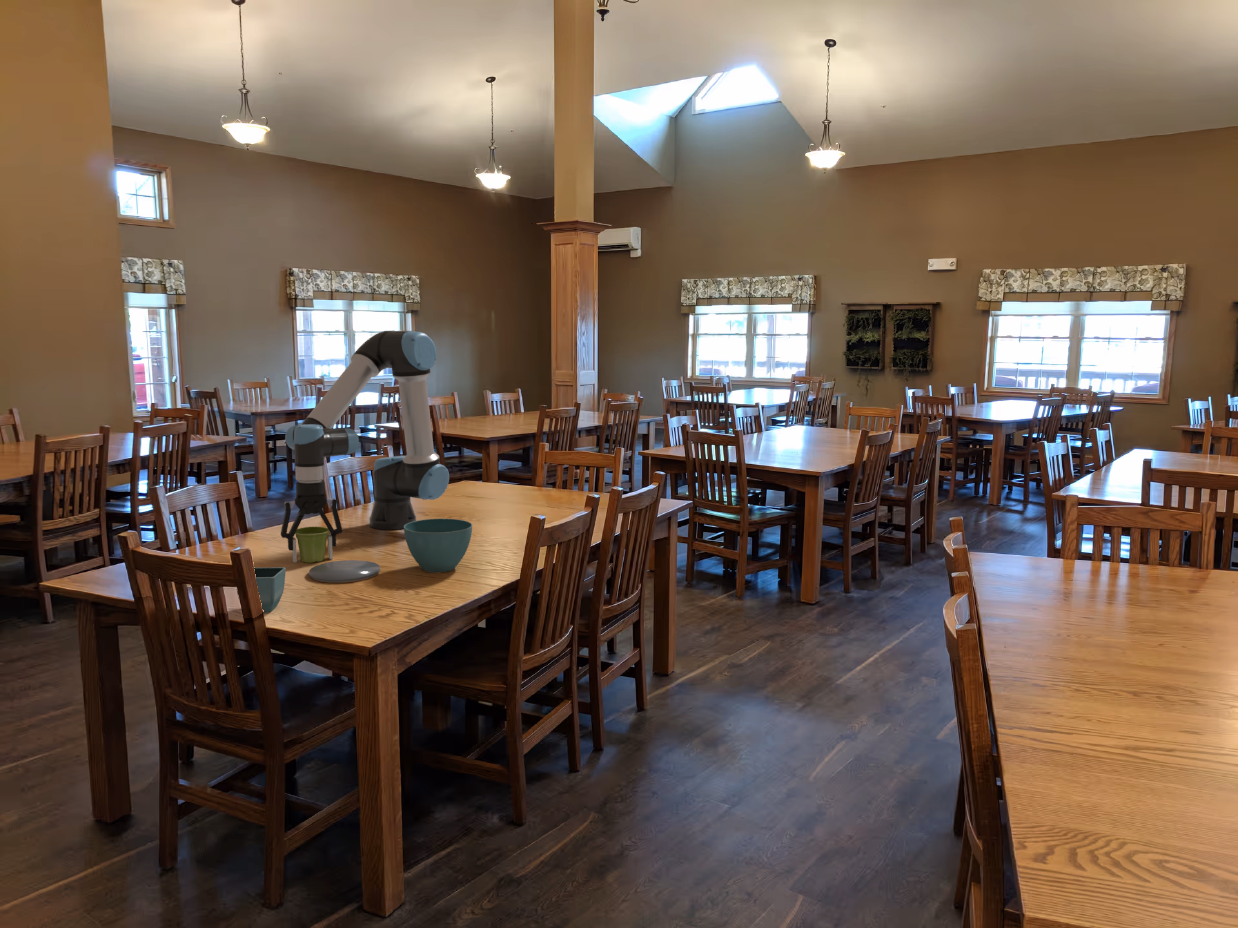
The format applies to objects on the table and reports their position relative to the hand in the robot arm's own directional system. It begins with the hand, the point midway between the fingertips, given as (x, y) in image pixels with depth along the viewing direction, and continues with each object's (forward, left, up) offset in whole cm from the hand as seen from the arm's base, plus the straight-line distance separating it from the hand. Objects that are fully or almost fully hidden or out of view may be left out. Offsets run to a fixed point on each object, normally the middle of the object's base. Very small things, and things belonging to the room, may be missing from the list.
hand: (312, 559), depth 234 cm
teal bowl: (-30, +22, 0) cm, 37 cm away
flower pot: (+16, +40, 0) cm, 43 cm away
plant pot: (0, 0, 0) cm, 0 cm away
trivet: (-6, +17, 0) cm, 18 cm away
